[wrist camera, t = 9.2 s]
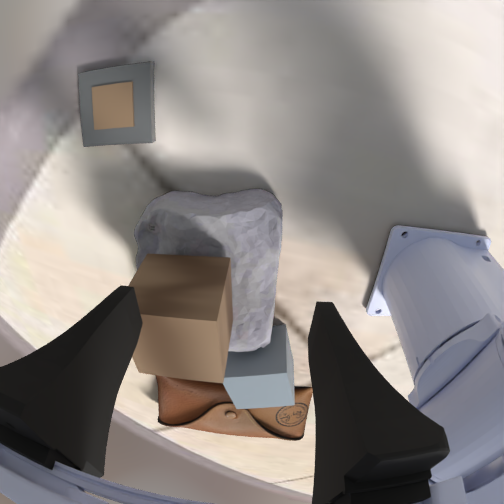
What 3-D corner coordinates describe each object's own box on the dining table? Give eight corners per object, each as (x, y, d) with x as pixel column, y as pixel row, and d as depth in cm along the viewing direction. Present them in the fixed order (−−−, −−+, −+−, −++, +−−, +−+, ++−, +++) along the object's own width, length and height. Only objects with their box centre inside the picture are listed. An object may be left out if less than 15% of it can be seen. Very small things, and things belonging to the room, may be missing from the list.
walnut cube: (230, 257, 18) (216, 321, 13) (233, 320, 20) (223, 383, 16) (147, 253, 18) (114, 310, 14) (160, 314, 21) (139, 372, 16)
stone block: (170, 303, 28) (280, 326, 25) (145, 338, 24) (267, 369, 21) (154, 174, 21) (293, 186, 19) (114, 197, 17) (280, 215, 15)
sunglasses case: (320, 385, 30) (315, 446, 27) (307, 387, 36) (303, 437, 33) (148, 368, 30) (141, 427, 27) (164, 373, 36) (158, 422, 33)
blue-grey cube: (285, 323, 25) (286, 372, 21) (293, 360, 28) (294, 405, 24) (227, 330, 26) (219, 377, 22) (241, 365, 29) (236, 409, 25)
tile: (153, 61, 15) (149, 61, 14) (155, 140, 18) (151, 143, 17) (83, 72, 15) (77, 73, 14) (88, 144, 18) (82, 147, 17)
